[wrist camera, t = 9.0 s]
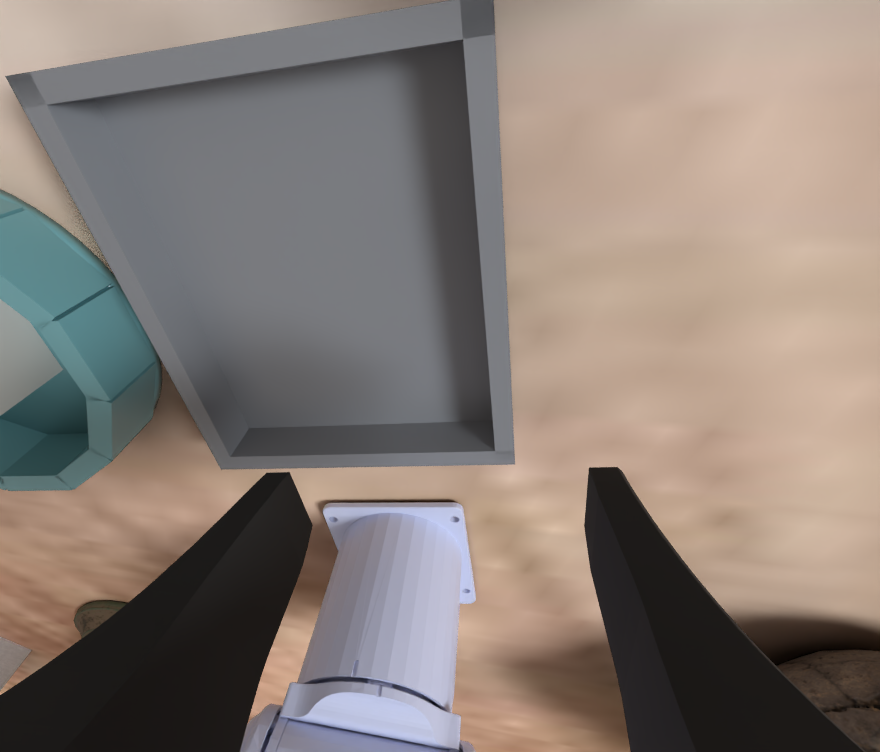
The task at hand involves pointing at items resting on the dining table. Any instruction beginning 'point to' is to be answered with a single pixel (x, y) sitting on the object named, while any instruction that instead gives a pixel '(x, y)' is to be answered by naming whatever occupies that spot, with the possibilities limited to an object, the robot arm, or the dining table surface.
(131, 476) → the dining table surface
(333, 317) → the parts tray
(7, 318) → the gray rectangular block
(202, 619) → the robot arm
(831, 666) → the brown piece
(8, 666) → the milk carton
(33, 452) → the bowl
